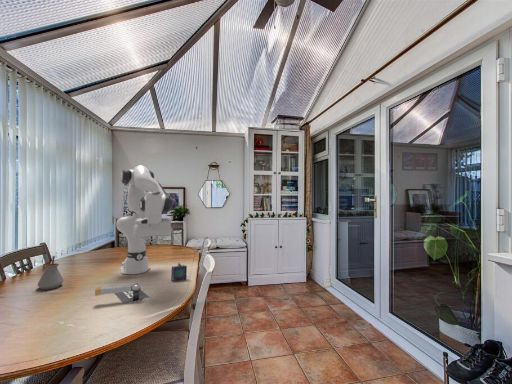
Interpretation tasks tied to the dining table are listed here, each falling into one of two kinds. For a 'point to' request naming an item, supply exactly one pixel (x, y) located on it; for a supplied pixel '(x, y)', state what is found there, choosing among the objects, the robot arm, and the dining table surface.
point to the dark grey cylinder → (136, 295)
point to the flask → (179, 272)
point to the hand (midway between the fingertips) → (152, 243)
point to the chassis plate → (127, 300)
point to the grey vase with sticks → (50, 277)
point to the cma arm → (117, 289)
